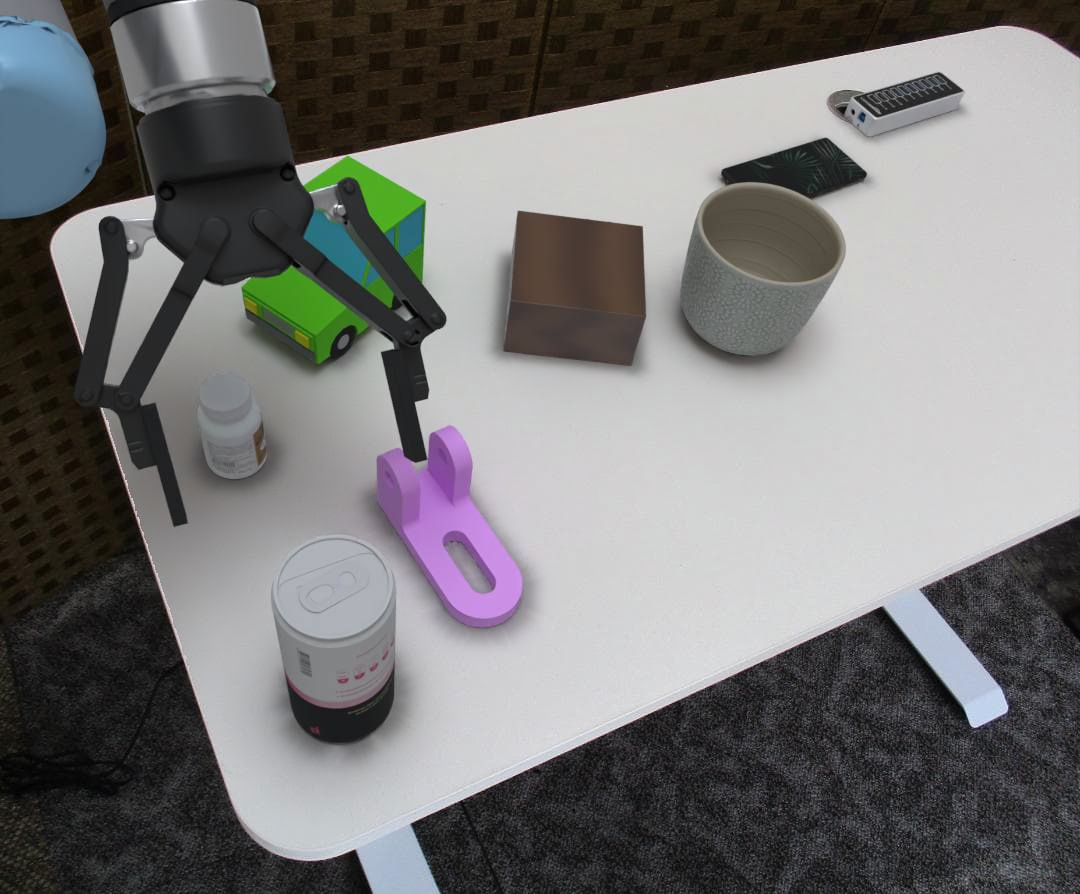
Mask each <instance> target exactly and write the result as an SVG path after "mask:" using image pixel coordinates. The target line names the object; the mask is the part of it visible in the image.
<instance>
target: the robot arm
mask: <svg viewBox="0 0 1080 894" xmlns="http://www.w3.org/2000/svg"><path fill="white" fill-rule="evenodd" d="M102 3H103V7H104V8H105V11H106V17H107V20H108V24H109V28H110V32H111V36H112V40H113V44H114V48H115V52H116V56H117V60H118V63H119V67H120V71H121V74H122V75H121V76H122V78H123V82H124V86H125V90H126V95H127V97H128V101H129V104H130V107H132V108H133V109H135V110H137V111H139V112H142V113H144V114H145V115H144V116H142V117H141V118H140V119H139V122H138V124H137V126H136V131H137V134H138V138H139V139H138V140H139V143H140V146H141V147H140V148H141V151H142V154H143V158H144V162H145V165H146V169H147V173H148V178H149V180H150V181H149V182H150V184H151V185H150V186H151V187H152V193H153V196H154V200H155V212H154V215H153V217H144V218H142V217H141V218H125V219H124V218H123V219H121V218H118V217H116V216H114V215H107V216H104V217H102V218H101V219H100V220H99V223H98V234H99V241H100V247H101V253H102V259H103V260H102V261H103V262H102V268H101V271H100V277H99V280H98V286H97V289H96V295H95V298H94V302H93V307H92V311H91V316H90V320H89V325H88V328H87V329H88V330H87V333H86V338H85V342H84V347H83V350H82V356H81V360H80V363H79V369H78V372H77V377H76V382H75V387H74V390H73V399H74V402H75V403H76V404H77V405H78V406H81V407H83V408H90V407H91V408H99V409H107V410H111V411H112V412H114V413H115V414H116V415H117V417H118V420H119V423H120V425H121V429H122V433H123V436H124V440H125V443H126V447H127V451H128V454H129V458H130V461H131V463H132V465H134V467H135V468H136V469H137V470H138V471H139V470H144V469H148V468H152V467H155V466H156V469H157V472H158V476H159V479H160V483H161V488H162V491H163V495H164V497H165V501H166V504H167V508H168V512H169V515H170V519H171V522H172V526H173V528H175V527H181V526H184V525H186V524H189V522H188V515H187V511H186V507H185V504H184V501H183V496H182V494H181V493H182V492H181V489H180V486H179V483H178V479H177V475H176V471H175V468H174V464H173V459H172V456H171V454H170V450H169V447H168V442H167V439H166V435H165V431H164V428H163V425H162V424H163V423H162V421H161V417H160V414H159V413H160V412H159V410H158V406H157V402H155V401H154V402H151V403H147V404H146V403H145V404H142V401H141V399H142V397H143V396H144V393H145V392H146V390H147V387H149V384H150V382H151V380H152V378H153V377H154V375H155V373H156V371H157V369H158V367H159V365H160V363H161V361H162V360H163V358H164V355H165V354H166V352H167V350H168V348H169V347H170V344H171V343H172V340H173V339H174V337H175V335H176V333H177V331H178V329H179V327H180V325H181V323H182V321H183V319H184V317H185V316H186V314H187V312H188V310H189V308H190V306H191V305H192V302H193V300H194V299H195V297H196V295H197V294H198V291H199V290H200V288H201V286H202V284H203V282H204V281H205V282H206V283H208V284H211V285H214V286H219V287H221V288H222V287H226V286H227V287H228V286H231V285H236V284H238V283H241V282H243V281H245V280H247V279H251V278H269V277H274V276H278V275H281V274H282V273H283V272H285V271H286V270H287V269H288V268H289V267H290V266H292V267H293V268H295V269H296V270H297V271H299V272H300V273H301V274H303V275H304V276H306V277H308V278H309V279H311V280H312V281H313V282H314V283H316V284H317V285H318V286H320V287H321V288H322V289H324V290H325V291H326V292H327V293H329V294H330V295H331V296H333V297H334V298H335V299H336V300H338V301H339V302H340V303H342V304H343V305H344V306H345V307H347V308H348V309H349V310H351V311H352V312H353V313H354V314H356V315H357V316H358V317H360V318H361V319H362V320H363V321H365V322H366V323H367V324H369V327H371V328H372V329H373V330H375V331H376V332H378V333H379V334H380V335H381V336H383V337H384V338H385V339H387V340H388V341H389V342H390V343H391V344H392V345H393V348H392V349H387V350H382V351H380V356H381V360H382V365H383V369H384V373H385V374H384V375H385V377H386V382H387V386H388V391H389V395H390V400H391V404H392V409H393V413H394V417H395V423H396V426H397V431H398V434H399V440H400V444H401V449H402V450H403V453H404V457H405V458H407V459H409V460H410V461H411V462H412V463H414V464H417V463H420V462H424V461H428V454H427V451H426V446H425V443H424V437H423V433H422V429H421V424H420V419H419V415H418V410H417V406H416V403H417V402H421V401H426V400H428V399H429V395H430V387H429V382H428V377H427V374H426V373H427V372H426V368H425V363H424V359H423V354H422V350H421V347H422V343H423V341H424V340H425V339H426V338H427V337H428V336H430V335H431V334H433V333H434V332H436V331H437V330H441V329H443V328H444V327H445V326H446V324H447V315H446V313H445V312H444V310H443V309H442V307H441V306H440V305H439V304H438V302H437V301H436V300H435V299H434V297H433V296H432V294H431V293H430V291H428V288H426V286H425V285H424V284H423V282H421V281H420V280H419V279H418V277H417V276H416V275H415V274H414V272H413V271H412V270H411V268H410V267H409V266H408V264H407V263H406V262H405V260H404V259H403V258H402V257H401V255H400V254H399V253H398V251H397V250H396V249H395V247H394V246H393V245H392V243H391V242H390V241H389V240H388V238H387V237H386V236H385V234H384V233H383V232H382V230H381V229H380V228H379V227H378V225H377V224H376V223H375V221H374V220H373V219H372V217H371V216H370V215H369V212H368V209H367V206H366V203H365V200H364V197H363V194H362V191H361V188H360V185H359V183H358V181H356V180H355V179H354V178H351V177H345V178H344V179H342V180H340V181H339V182H337V183H336V184H335V185H331V186H328V187H324V188H321V189H317V190H314V191H311V192H308V191H307V190H306V189H305V188H304V186H303V185H304V184H302V182H301V179H300V178H299V175H298V172H297V168H296V163H295V160H294V155H293V150H292V146H291V142H290V141H291V140H290V138H289V134H288V133H289V132H288V129H287V124H286V121H285V116H284V112H283V108H282V105H281V104H280V103H278V102H277V100H276V99H275V98H273V97H269V96H268V95H269V94H270V93H271V92H272V91H273V89H274V87H275V86H276V84H277V81H276V77H275V73H274V69H273V65H272V61H271V57H270V53H269V49H268V45H267V40H266V37H265V32H264V29H263V24H262V21H261V17H260V12H259V9H258V6H257V1H256V0H102ZM88 57H89V56H88V55H87V54H86V52H85V51H84V49H83V47H82V46H81V44H80V43H79V41H78V39H77V36H76V34H75V32H74V29H73V27H72V25H71V22H70V20H69V17H68V16H67V12H66V10H65V9H64V6H63V4H62V0H0V220H9V219H10V220H11V219H20V218H28V217H34V216H38V215H42V214H45V213H47V212H50V211H53V210H55V209H57V208H60V207H61V206H63V205H64V204H67V203H68V202H70V201H72V199H74V198H75V197H76V196H78V195H79V194H80V193H82V191H84V189H85V188H86V187H87V186H88V185H89V184H90V182H91V181H92V180H93V178H94V177H95V176H96V174H97V170H98V169H99V168H100V166H103V157H104V154H105V149H106V144H107V143H106V142H107V129H106V121H105V116H104V112H103V109H102V106H101V102H100V98H99V94H98V90H97V84H96V81H95V75H94V74H95V70H94V68H93V66H92V64H91V62H90V60H89V58H88ZM316 210H317V211H321V212H323V213H324V214H325V215H326V217H327V218H328V220H329V221H331V222H332V223H335V224H339V223H342V225H343V227H344V229H345V231H346V232H347V234H348V235H349V237H350V238H351V240H352V241H353V242H354V243H355V245H356V246H357V247H358V248H359V250H360V251H361V252H362V254H363V255H364V256H365V257H366V259H367V260H368V261H369V263H370V264H371V265H372V266H373V268H374V269H375V270H376V272H377V273H378V274H379V275H380V277H381V278H382V279H383V281H384V282H385V283H386V284H387V286H388V287H389V288H390V289H391V291H392V292H393V293H394V295H395V296H396V297H397V298H398V300H399V301H400V302H401V304H402V306H403V308H404V309H405V310H406V311H407V313H408V314H409V315H410V318H409V319H407V320H405V318H403V316H401V315H400V314H398V313H397V312H396V311H394V310H393V309H392V308H389V307H388V306H387V305H385V304H384V303H383V302H382V301H380V300H379V299H378V298H377V297H375V296H374V295H373V294H371V293H370V292H369V291H368V290H366V289H365V288H364V287H363V286H361V285H360V284H359V283H358V282H356V281H355V280H354V279H352V278H351V277H350V276H349V275H347V274H346V273H345V272H344V271H342V270H341V269H340V268H339V267H337V266H336V265H335V264H334V263H332V262H331V261H330V260H329V259H328V258H327V257H326V256H325V255H324V254H323V253H322V252H320V251H319V250H318V249H317V248H315V247H314V246H313V245H312V244H310V243H309V242H308V241H307V240H305V239H304V238H303V237H304V235H305V233H306V230H307V228H308V226H309V223H310V221H311V219H312V216H313V213H314V211H316ZM153 239H156V240H157V241H158V242H159V243H160V244H161V245H162V246H164V248H166V249H167V250H168V251H169V252H170V253H172V254H173V255H174V256H175V257H176V258H177V259H178V260H180V261H181V262H182V265H181V268H180V270H179V272H178V274H177V276H176V277H175V278H174V281H173V283H172V285H171V286H170V289H169V290H168V293H167V295H166V297H165V299H164V300H163V302H162V304H161V306H160V308H159V310H158V312H157V313H156V315H155V317H154V319H153V320H152V323H151V325H150V327H149V328H148V331H147V333H146V335H145V336H144V338H143V340H142V342H141V344H140V345H139V347H138V349H137V352H136V353H135V355H134V357H133V359H132V361H131V363H130V365H129V367H128V368H127V370H126V372H125V374H124V376H123V378H122V380H121V381H120V384H116V383H106V382H105V379H106V375H107V372H108V371H107V370H108V366H109V362H110V357H111V353H112V348H113V344H114V340H115V335H116V331H117V327H118V323H119V318H120V314H121V309H122V304H123V300H124V296H125V293H126V287H127V283H128V278H129V273H130V261H136V260H139V259H140V258H141V257H142V256H143V254H144V252H145V246H146V245H147V242H149V241H150V240H153Z"/></svg>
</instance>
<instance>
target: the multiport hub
mask: <svg viewBox="0 0 1080 894" xmlns="http://www.w3.org/2000/svg"><path fill="white" fill-rule="evenodd" d="M965 93H966V90H964V89H963V88H962V87H961V86H959V85H958V84H957V83H956V82H955V81H953V80H952V79H950V78H949V77H948V76H947V75H945V74H944V73H943V72H941V71H935V72H932V73H929V74H925V75H922V76H918V77H915V78H912V79H911V78H910V79H908V80H904V81H901V82H897V83H894V84H889V85H888V86H887V85H886V86H884V87H880V88H877V89H874V90H870V91H866V92H863V93H860V94H856V95H853V96H851V97H850V100H849V102H848V104H847V107H846V109H845V110H844V113H843V117H844V118H845V119H846V120H847V121H849V123H851V124H852V125H854V126H855V127H856V128H857V129H858V130H859V131H860V132H861V133H862V134H864V135H865V136H866V137H869V138H870V137H875V136H877V135H880V134H883V133H887V132H890V131H893V130H897V129H899V128H902V127H905V126H909V125H912V124H916V123H918V122H921V121H924V120H928V119H931V118H934V117H937V116H940V115H943V114H947V113H949V112H953V111H956V110H957V108H958V106H959V105H960V103H961V101H962V99H963V97H964V95H965Z"/></svg>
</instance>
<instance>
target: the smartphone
mask: <svg viewBox="0 0 1080 894" xmlns="http://www.w3.org/2000/svg"><path fill="white" fill-rule="evenodd" d="M720 175H721V176H722V178H723V179H725V180H726V181H727V183H729V185H731V184H736V183H745V182H757V183H766V184H772V185H777V186H780V187H784V188H787V189H790V190H792V191H795V192H797V193H799V194H802V195H804V196H805V197H807V198H809V199H810V198H811V197H814V196H818V195H820V194H823V193H827V192H830V191H832V190H836V189H838V188H842V187H844V186H847V185H850V184H853V183H855V182H858V181H862V180H864V179H866V178H867V176H868V172H867V171H866V169H863V168H862V166H860V165H859V164H858V162H856V161H855V160H854V159H853V158H851V157H850V156H849V155H848V154H847V153H846V152H844V151H843V150H842V149H841V148H840V147H839V146H838V145H837V144H836V143H834V142H833V141H832V140H831V139H830V138H829V137H822V138H819V139H816V140H811V141H809V142H806V143H802V144H799V145H796V146H793V147H790V148H789V147H788V148H786V149H783V150H780V151H776V152H772V153H769V154H766V155H764V156H760V157H757V158H754V159H749V160H747V161H743V162H741V163H737V164H734V165H731V166H728V167H724V168H722V170H721V171H720Z"/></svg>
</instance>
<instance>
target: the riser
mask: <svg viewBox="0 0 1080 894" xmlns="http://www.w3.org/2000/svg"><path fill="white" fill-rule="evenodd" d="M515 219H516V220H515V226H514V227H515V228H514V232H513V233H514V235H513V240H512V249H511V256H510V265H509V274H508V275H509V277H508V289H507V299H506V300H507V301H506V313H505V323H504V325H505V326H504V338H503V349H502V350H503V352H510V353H518V354H519V353H520V354H526V355H536V356H543V357H554V358H562V359H571V360H579V361H588V362H596V363H605V364H614V365H621V366H622V365H624V366H632V365H633V362H634V359H635V355H636V352H637V348H638V345H639V342H640V338H641V335H642V332H643V328H644V325H645V323H646V319H647V302H646V299H647V298H646V275H645V246H644V245H645V243H644V226H643V225H636V224H628V223H622V222H621V223H620V222H612V221H604V220H596V219H588V218H581V217H573V216H564V215H557V214H548V213H541V212H535V211H534V212H532V211H525V210H517V212H516V218H515Z"/></svg>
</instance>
